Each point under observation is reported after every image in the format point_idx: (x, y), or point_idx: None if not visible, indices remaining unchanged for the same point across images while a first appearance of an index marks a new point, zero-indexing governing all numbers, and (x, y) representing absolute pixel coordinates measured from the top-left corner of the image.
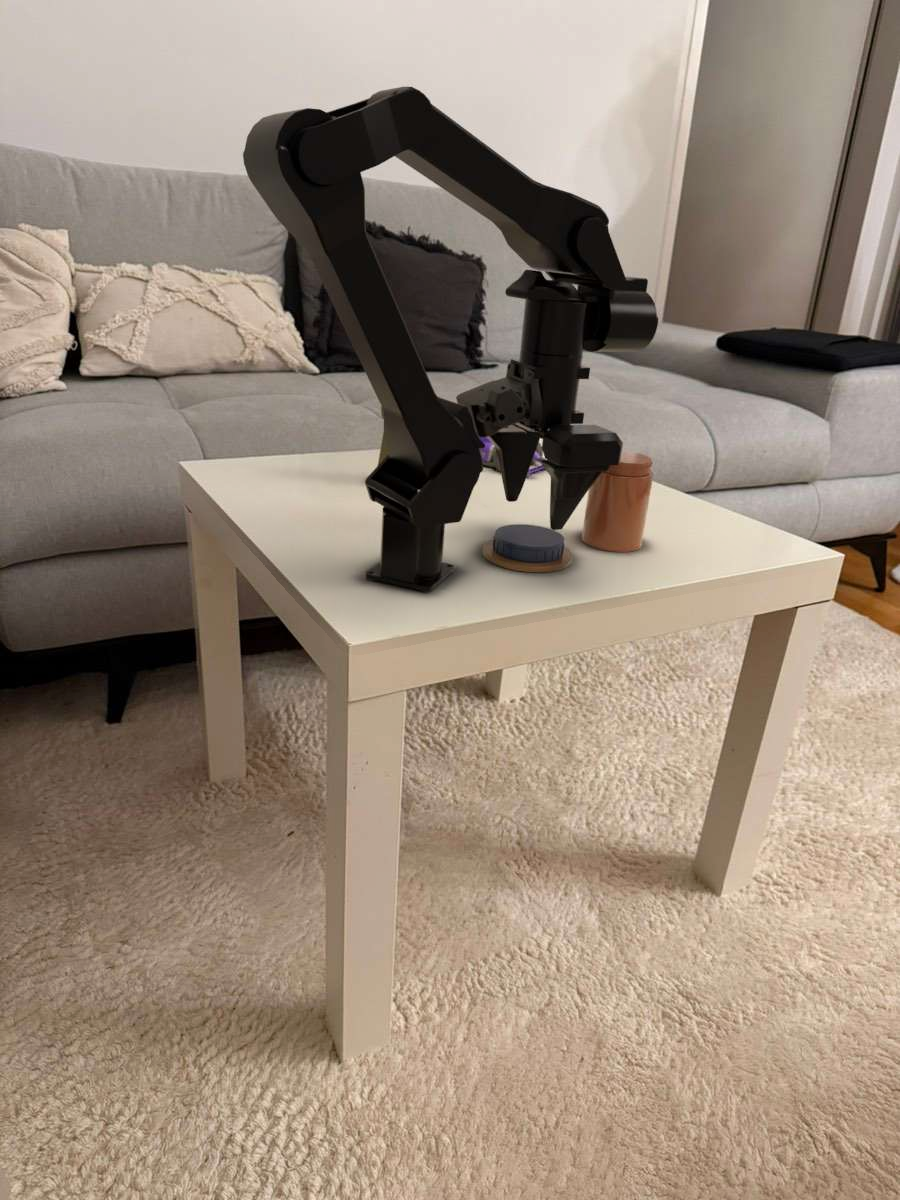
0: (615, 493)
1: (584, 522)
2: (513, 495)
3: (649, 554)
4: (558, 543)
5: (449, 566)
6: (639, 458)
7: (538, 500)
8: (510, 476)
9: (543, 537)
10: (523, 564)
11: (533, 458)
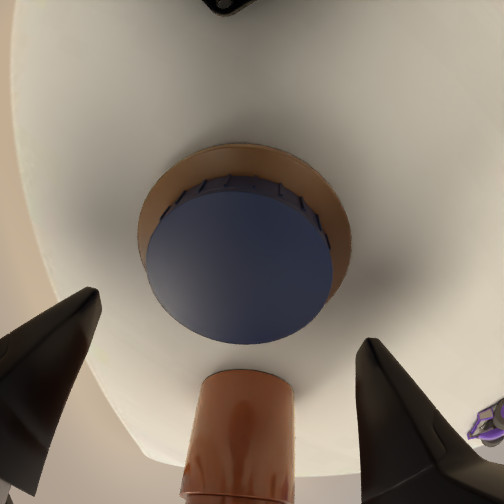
0: (199, 463)
1: (273, 402)
2: (363, 361)
3: (184, 397)
4: (160, 300)
5: (231, 7)
6: None
7: (434, 399)
8: (387, 404)
9: (208, 299)
10: (163, 191)
11: (483, 432)
